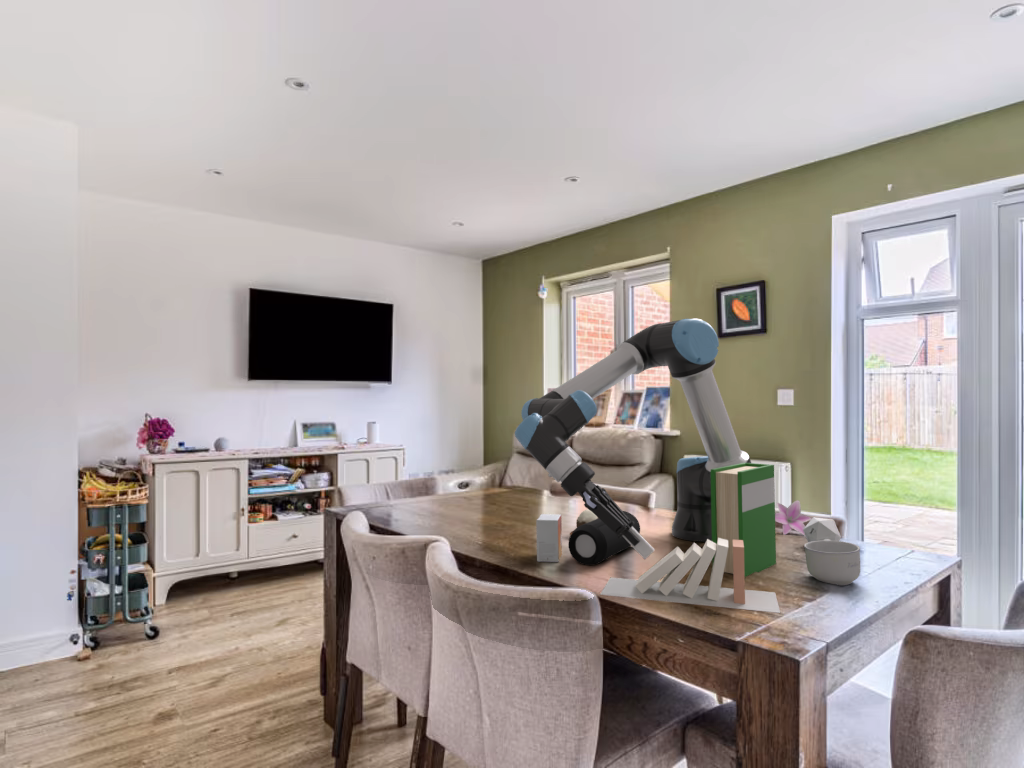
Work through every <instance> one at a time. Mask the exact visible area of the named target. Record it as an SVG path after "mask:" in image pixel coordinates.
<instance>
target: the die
mask: <svg viewBox="0 0 1024 768" xmlns="http://www.w3.org/2000/svg"><path fill="white" fill-rule="evenodd" d="M811 518H812V519H811V520H809V521H808V523H807V524H806V525H805V528H804V529H803V531H804V534H805V535H804V536H805V538H806V541H807V543H808V542H812V541H822V540H825V539H830V540H831V541H841V539H842V536H841V533H840V530H839V529H838V527H837V524H836V522H835V520H834V519H832V518H822V517H814V516H813V517H811Z"/></svg>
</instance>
